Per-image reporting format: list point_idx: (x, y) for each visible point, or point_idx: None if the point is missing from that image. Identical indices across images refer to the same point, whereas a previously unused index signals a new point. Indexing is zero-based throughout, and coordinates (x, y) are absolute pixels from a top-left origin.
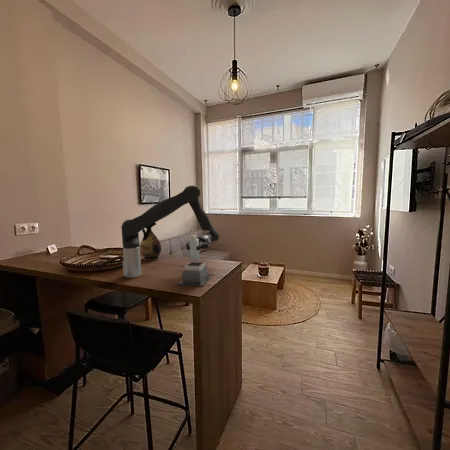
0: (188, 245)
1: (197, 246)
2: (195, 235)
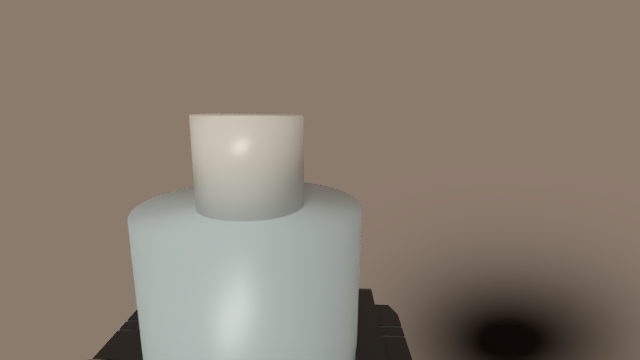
0: (374, 320)
1: None
2: (203, 115)
